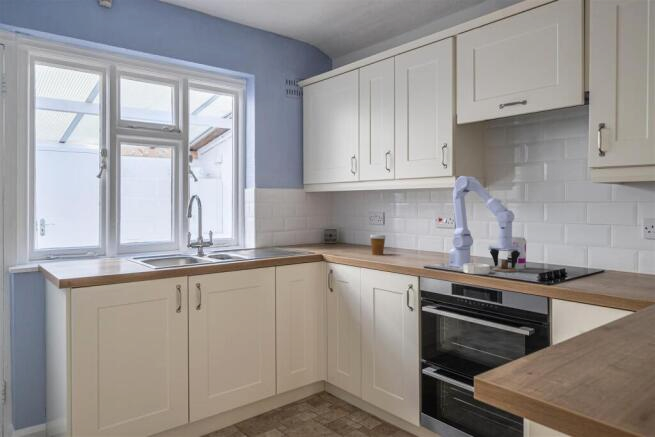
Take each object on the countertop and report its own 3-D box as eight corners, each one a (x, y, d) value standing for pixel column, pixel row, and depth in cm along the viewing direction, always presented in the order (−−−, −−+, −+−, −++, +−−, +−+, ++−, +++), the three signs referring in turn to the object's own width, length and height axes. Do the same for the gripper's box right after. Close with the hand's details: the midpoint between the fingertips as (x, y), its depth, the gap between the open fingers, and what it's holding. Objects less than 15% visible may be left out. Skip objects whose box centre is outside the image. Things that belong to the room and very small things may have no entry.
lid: (488, 270, 210) (489, 259, 210) (497, 268, 218) (497, 257, 217) (512, 273, 203) (512, 262, 203) (520, 270, 211) (520, 259, 211)
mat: (482, 271, 211) (482, 270, 211) (491, 268, 219) (491, 267, 219) (513, 274, 202) (513, 273, 202) (521, 271, 210) (521, 270, 210)
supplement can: (524, 268, 222) (524, 236, 221) (526, 270, 214) (527, 238, 213) (506, 267, 224) (506, 236, 224) (508, 269, 216) (508, 237, 216)
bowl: (459, 273, 206) (459, 265, 205) (469, 270, 214) (469, 262, 214) (483, 275, 198) (483, 267, 198) (493, 272, 207) (493, 264, 207)
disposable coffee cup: (371, 255, 270) (371, 235, 269) (368, 253, 279) (368, 234, 279) (387, 255, 271) (387, 235, 271) (383, 253, 280) (383, 234, 280)
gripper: (486, 236, 211) (485, 266, 212) (518, 238, 202) (517, 269, 202) (492, 235, 217) (491, 264, 217) (523, 237, 207) (523, 267, 208)
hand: (504, 266), depth 210 cm, fingers open, 7 cm apart
